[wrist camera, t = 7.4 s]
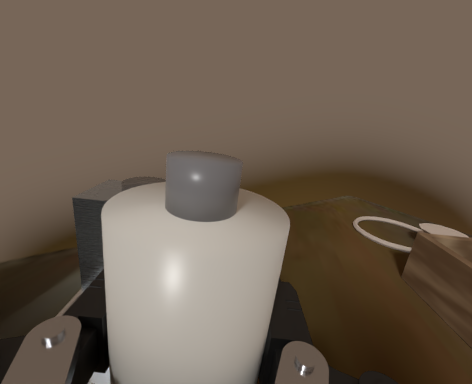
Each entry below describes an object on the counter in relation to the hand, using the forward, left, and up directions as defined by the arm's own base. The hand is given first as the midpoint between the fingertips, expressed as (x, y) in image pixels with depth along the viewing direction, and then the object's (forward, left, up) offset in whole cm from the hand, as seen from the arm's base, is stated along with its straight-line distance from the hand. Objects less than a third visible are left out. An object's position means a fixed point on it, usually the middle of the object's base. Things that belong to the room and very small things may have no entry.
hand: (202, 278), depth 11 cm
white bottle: (0, -3, -7) cm, 7 cm away
